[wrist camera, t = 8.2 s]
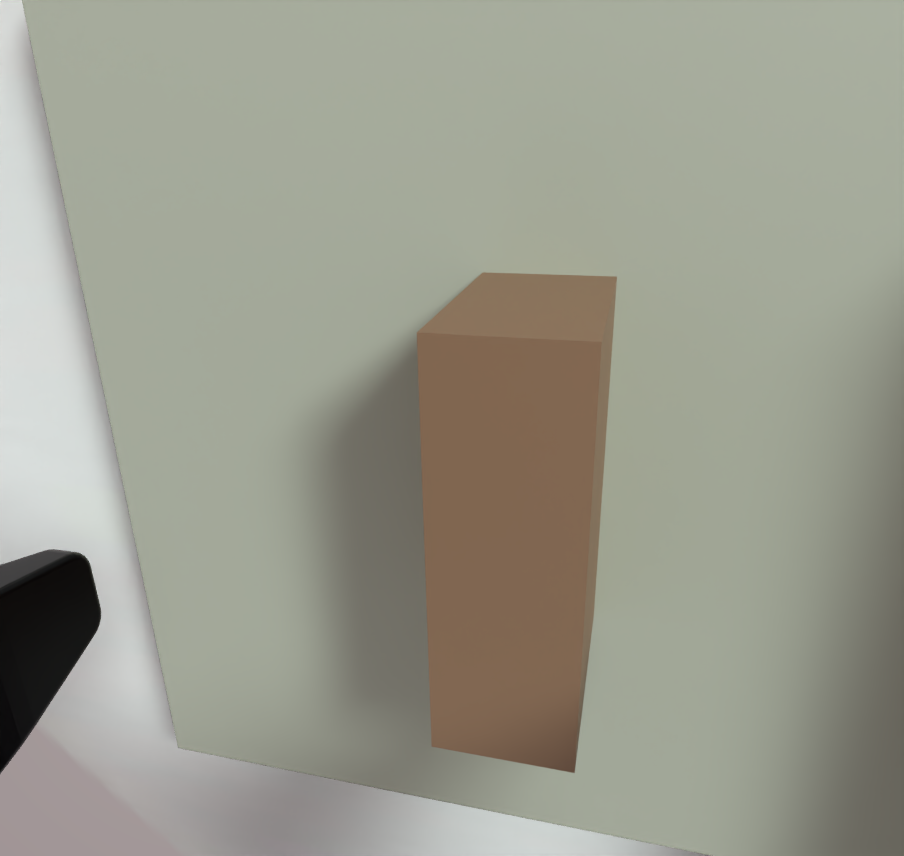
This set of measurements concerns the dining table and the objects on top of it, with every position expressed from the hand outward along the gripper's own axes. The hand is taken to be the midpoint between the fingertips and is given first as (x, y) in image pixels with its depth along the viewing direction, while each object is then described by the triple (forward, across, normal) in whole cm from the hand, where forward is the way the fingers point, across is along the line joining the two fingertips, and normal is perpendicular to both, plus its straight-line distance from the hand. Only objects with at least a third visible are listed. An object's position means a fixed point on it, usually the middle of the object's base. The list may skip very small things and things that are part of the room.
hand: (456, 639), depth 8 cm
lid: (+7, 0, 0) cm, 7 cm away
